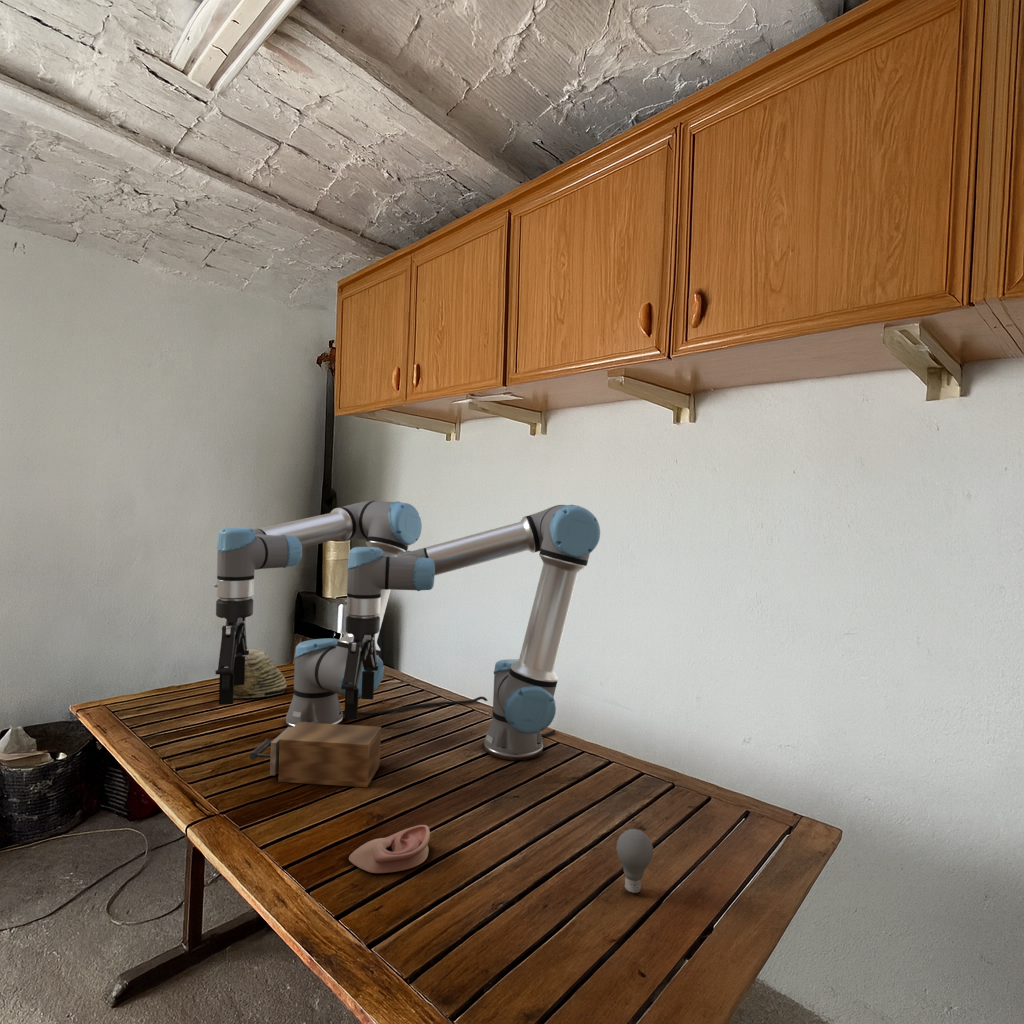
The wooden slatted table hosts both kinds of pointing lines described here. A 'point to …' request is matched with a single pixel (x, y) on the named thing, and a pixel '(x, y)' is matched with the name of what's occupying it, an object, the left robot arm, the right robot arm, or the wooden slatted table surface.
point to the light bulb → (634, 857)
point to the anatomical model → (393, 851)
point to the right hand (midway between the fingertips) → (359, 708)
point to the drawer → (274, 752)
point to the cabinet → (329, 754)
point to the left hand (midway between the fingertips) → (232, 694)
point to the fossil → (260, 676)
